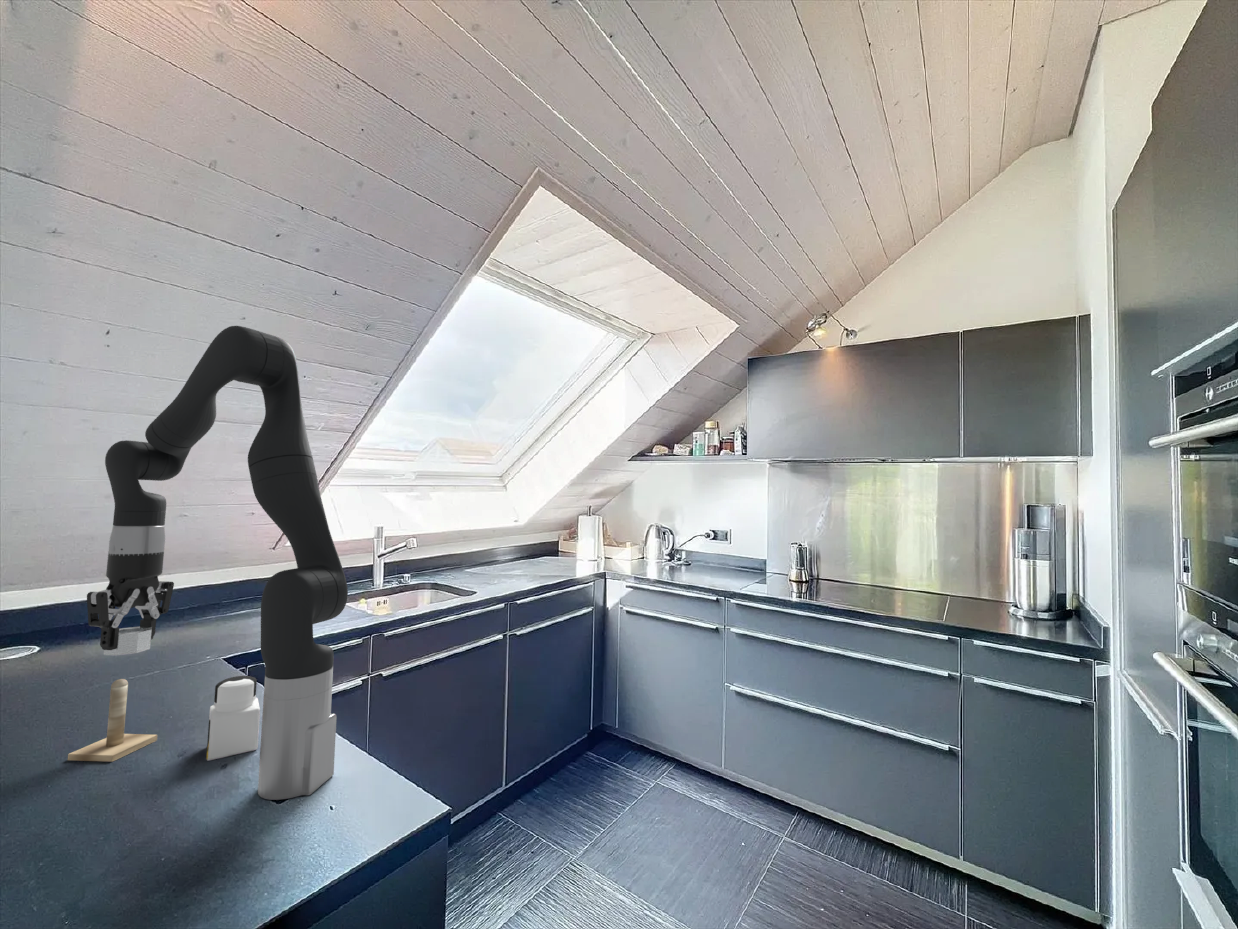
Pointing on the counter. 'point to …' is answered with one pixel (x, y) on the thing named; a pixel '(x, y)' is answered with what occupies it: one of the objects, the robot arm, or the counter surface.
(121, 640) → the ring
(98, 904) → the counter surface
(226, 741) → the medicine bottle
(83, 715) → the counter surface
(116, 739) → the post stand
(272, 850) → the counter surface
